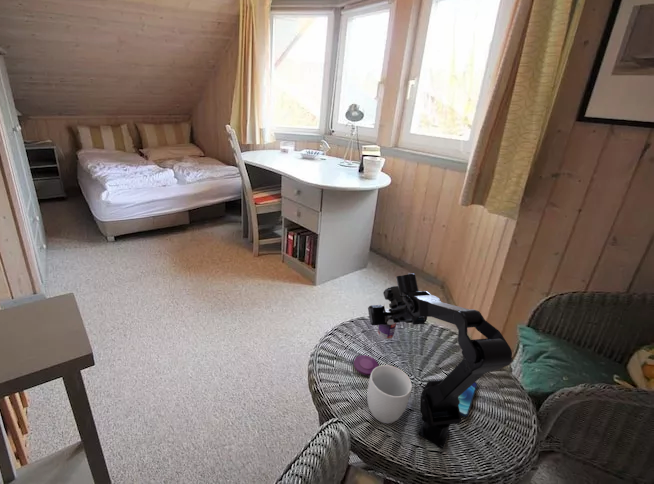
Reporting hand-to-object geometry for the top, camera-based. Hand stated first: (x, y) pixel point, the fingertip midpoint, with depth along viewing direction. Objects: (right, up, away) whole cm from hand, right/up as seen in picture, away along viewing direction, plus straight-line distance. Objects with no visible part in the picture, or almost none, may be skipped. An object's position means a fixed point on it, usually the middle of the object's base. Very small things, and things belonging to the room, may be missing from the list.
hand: (387, 317), depth 123 cm
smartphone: (+17, -20, -15) cm, 31 cm away
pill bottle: (0, -7, +2) cm, 7 cm away
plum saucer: (-9, -15, -6) cm, 18 cm away
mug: (-7, -22, -21) cm, 31 cm away
